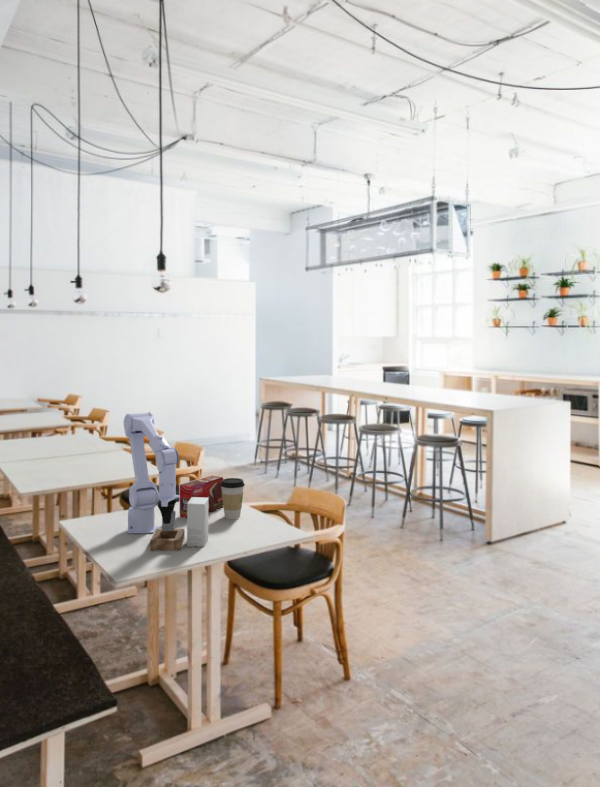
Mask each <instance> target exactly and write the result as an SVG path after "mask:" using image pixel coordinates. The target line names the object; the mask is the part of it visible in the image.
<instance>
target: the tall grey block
mask: <svg viewBox="0 0 600 787" xmlns="http://www.w3.org/2000/svg"><path fill="white" fill-rule="evenodd" d="M161 529H162V531H174V529H176V510H173V511H172V514H171V521H170V524H164V523H163V519H162V518H161Z"/></svg>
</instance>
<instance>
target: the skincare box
mask: <svg viewBox="0 0 600 787" xmlns="http://www.w3.org/2000/svg"><path fill="white" fill-rule="evenodd" d="M208 499H209V498H206V497H192V498H191V499H190V500H189V502H188V503H187V518H186V547H194V546H197V547H201V548H204V547H205V546H206V544H207V542H208V540H209V513H208Z"/></svg>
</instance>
